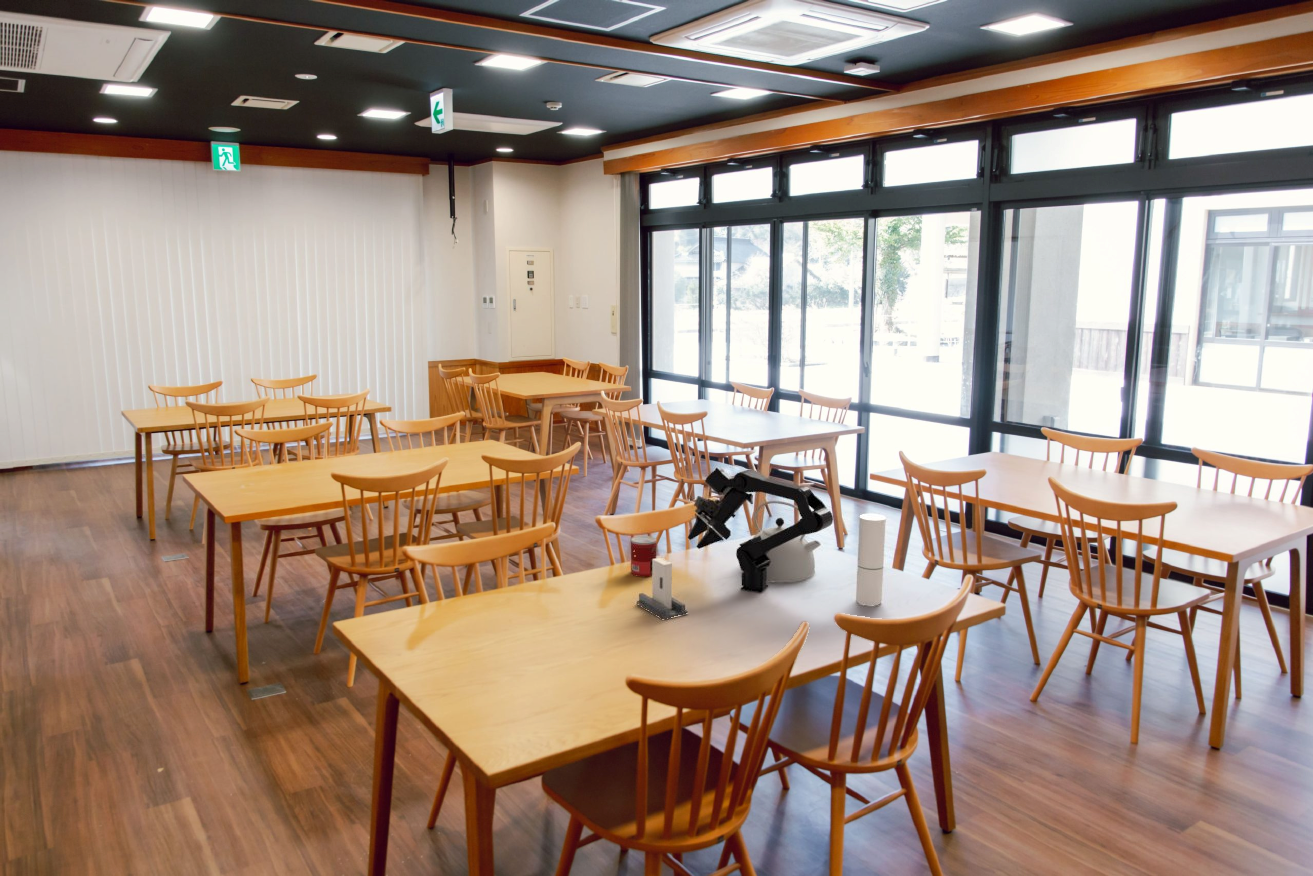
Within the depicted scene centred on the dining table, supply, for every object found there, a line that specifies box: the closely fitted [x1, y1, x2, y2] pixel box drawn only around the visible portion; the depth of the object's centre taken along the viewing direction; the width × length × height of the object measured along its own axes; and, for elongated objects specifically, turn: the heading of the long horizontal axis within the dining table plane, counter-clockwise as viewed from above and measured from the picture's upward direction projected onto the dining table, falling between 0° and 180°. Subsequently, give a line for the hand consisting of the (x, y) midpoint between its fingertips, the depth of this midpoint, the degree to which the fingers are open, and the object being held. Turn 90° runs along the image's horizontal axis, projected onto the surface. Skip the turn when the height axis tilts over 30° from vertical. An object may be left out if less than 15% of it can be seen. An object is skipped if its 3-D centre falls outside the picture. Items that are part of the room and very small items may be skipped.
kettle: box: [752, 500, 822, 583], centre depth 281 cm, size 25×23×22 cm
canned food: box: [630, 535, 657, 577], centre depth 280 cm, size 8×8×11 cm
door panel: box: [651, 557, 673, 609], centre depth 249 cm, size 3×6×13 cm, turn 32°
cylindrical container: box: [855, 513, 887, 605], centre depth 254 cm, size 7×7×25 cm
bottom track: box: [636, 592, 689, 620], centre depth 250 cm, size 8×14×3 cm, turn 32°
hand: (693, 543), depth 266 cm, fingers open, 9 cm apart
